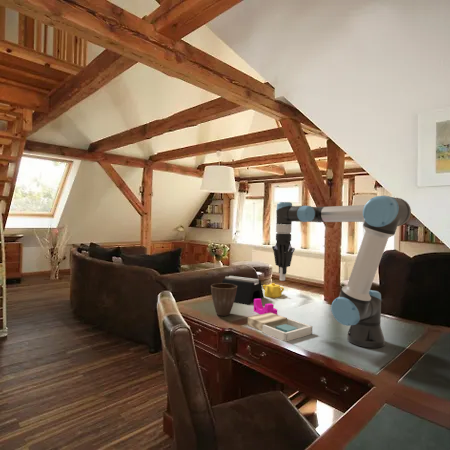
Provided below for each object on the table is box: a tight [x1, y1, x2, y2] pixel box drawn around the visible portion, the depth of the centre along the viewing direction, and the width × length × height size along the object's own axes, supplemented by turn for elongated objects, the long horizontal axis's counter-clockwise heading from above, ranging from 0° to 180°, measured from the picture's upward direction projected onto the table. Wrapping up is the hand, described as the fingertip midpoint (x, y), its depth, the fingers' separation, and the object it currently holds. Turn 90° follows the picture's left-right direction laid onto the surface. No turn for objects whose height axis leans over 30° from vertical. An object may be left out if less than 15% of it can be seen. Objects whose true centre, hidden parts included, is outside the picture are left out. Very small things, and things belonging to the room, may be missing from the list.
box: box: [261, 318, 313, 343], centre depth 154 cm, size 15×18×4 cm
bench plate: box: [247, 313, 288, 332], centre depth 164 cm, size 12×16×4 cm
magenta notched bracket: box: [253, 298, 278, 315], centre depth 185 cm, size 15×6×8 cm, turn 25°
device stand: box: [221, 275, 265, 306], centre depth 219 cm, size 22×22×15 cm
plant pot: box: [210, 282, 237, 317], centre depth 184 cm, size 15×15×16 cm
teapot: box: [262, 282, 285, 299], centre depth 225 cm, size 14×13×10 cm
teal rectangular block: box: [276, 324, 297, 332], centre depth 154 cm, size 7×7×3 cm
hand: (282, 280), depth 162 cm, fingers closed
